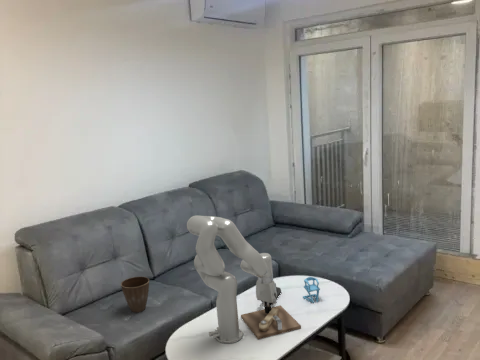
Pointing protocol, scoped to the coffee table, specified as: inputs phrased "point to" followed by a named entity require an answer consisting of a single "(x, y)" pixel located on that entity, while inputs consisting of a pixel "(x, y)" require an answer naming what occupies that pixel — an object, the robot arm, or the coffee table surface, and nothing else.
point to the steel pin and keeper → (278, 322)
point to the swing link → (268, 319)
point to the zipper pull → (277, 291)
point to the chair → (311, 289)
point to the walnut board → (258, 316)
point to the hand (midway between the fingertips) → (268, 312)
